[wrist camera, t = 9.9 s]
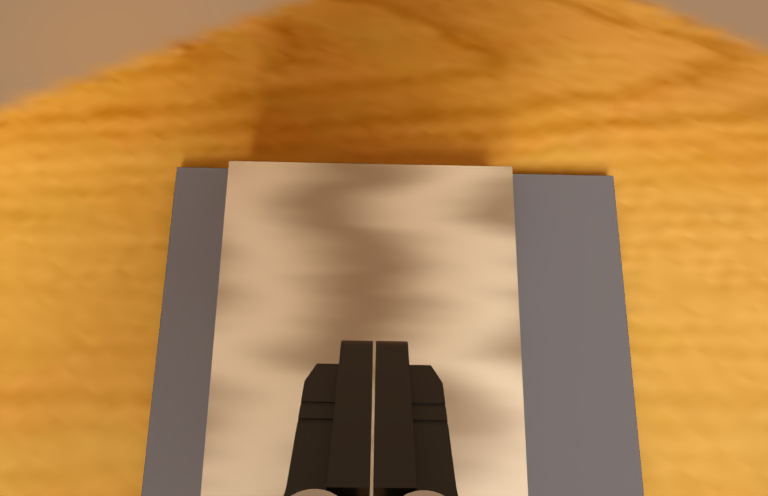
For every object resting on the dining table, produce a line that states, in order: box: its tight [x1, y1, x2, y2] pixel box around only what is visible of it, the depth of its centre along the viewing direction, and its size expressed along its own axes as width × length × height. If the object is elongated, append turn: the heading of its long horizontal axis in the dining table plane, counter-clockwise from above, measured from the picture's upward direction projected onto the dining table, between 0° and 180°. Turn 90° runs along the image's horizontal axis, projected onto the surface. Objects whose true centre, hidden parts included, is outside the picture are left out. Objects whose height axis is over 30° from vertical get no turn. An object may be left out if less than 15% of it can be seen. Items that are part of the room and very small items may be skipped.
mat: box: [141, 167, 644, 496], centre depth 18 cm, size 17×21×1 cm
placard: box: [201, 161, 528, 496], centre depth 18 cm, size 10×2×14 cm
